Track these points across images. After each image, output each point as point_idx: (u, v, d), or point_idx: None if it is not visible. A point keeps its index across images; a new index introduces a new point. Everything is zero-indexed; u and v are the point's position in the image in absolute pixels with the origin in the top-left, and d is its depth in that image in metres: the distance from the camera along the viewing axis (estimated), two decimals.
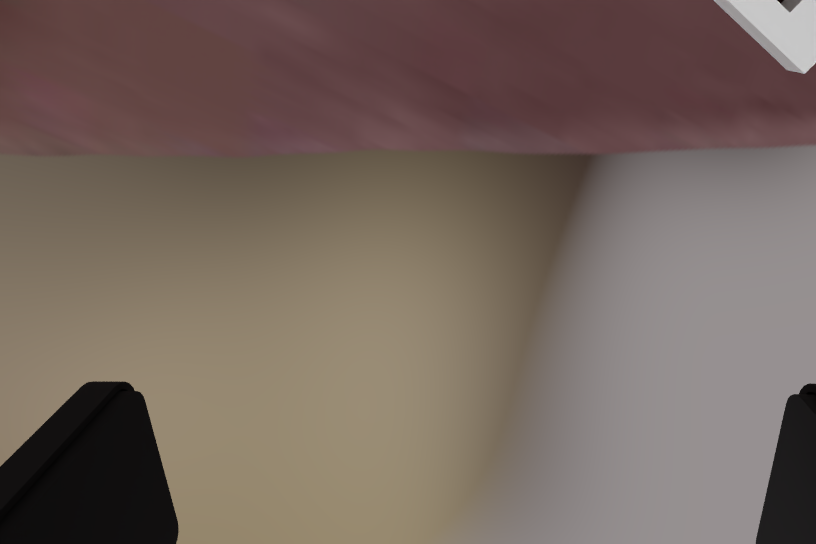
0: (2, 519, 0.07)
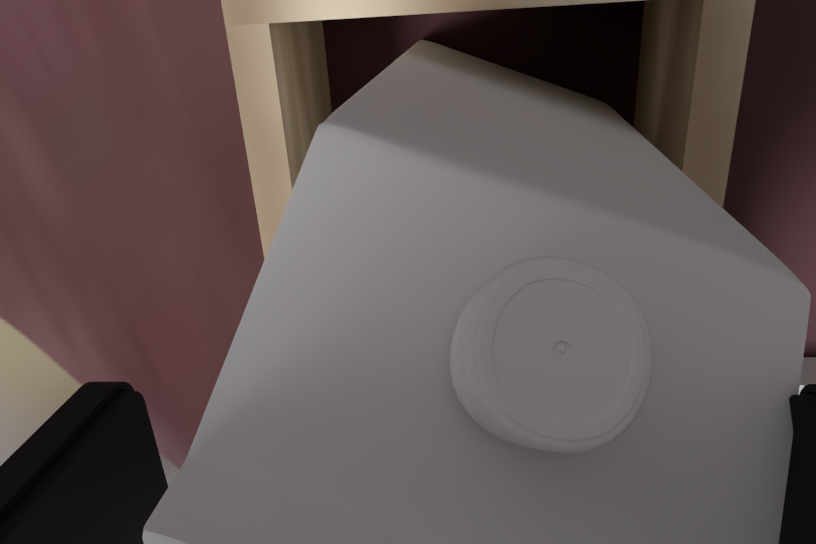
0: (2, 519, 0.07)
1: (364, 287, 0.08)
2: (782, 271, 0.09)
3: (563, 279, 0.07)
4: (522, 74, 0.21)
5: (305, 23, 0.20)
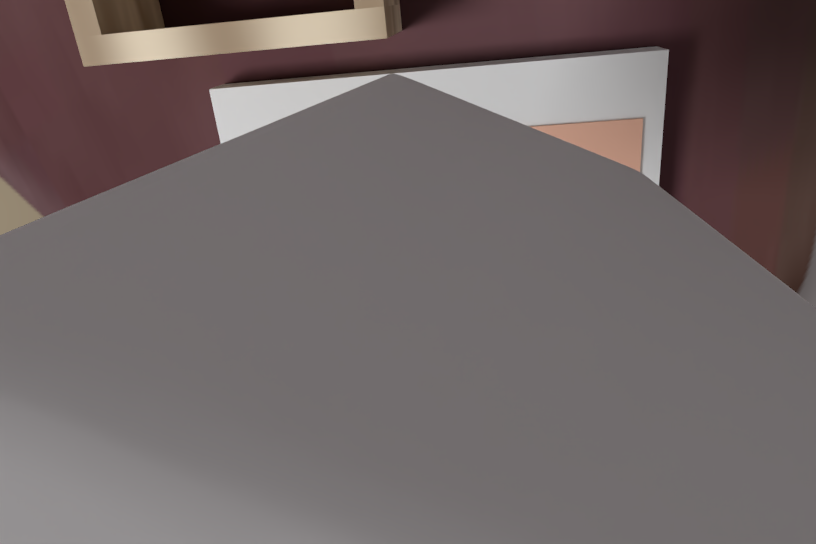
0: None
1: None
2: None
3: None
4: (530, 128, 0.15)
5: None
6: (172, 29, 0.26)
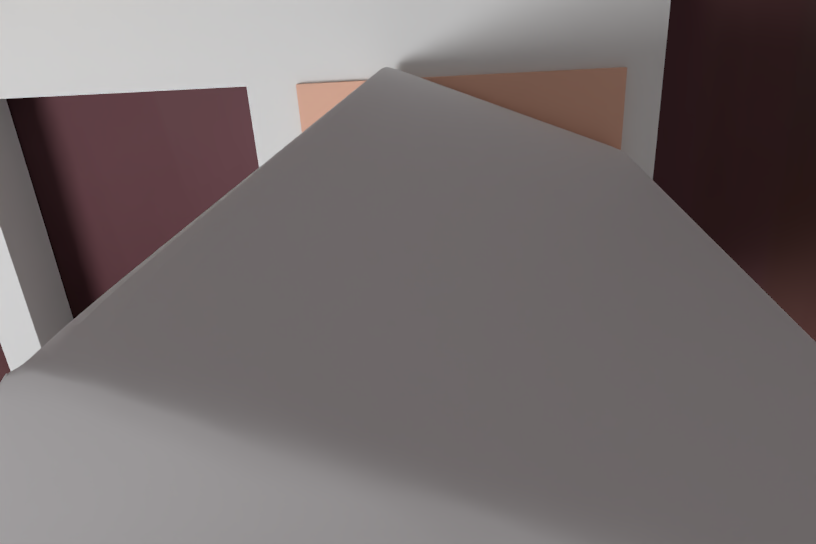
0: None
1: None
2: None
3: None
4: (516, 114, 0.16)
5: None
6: None
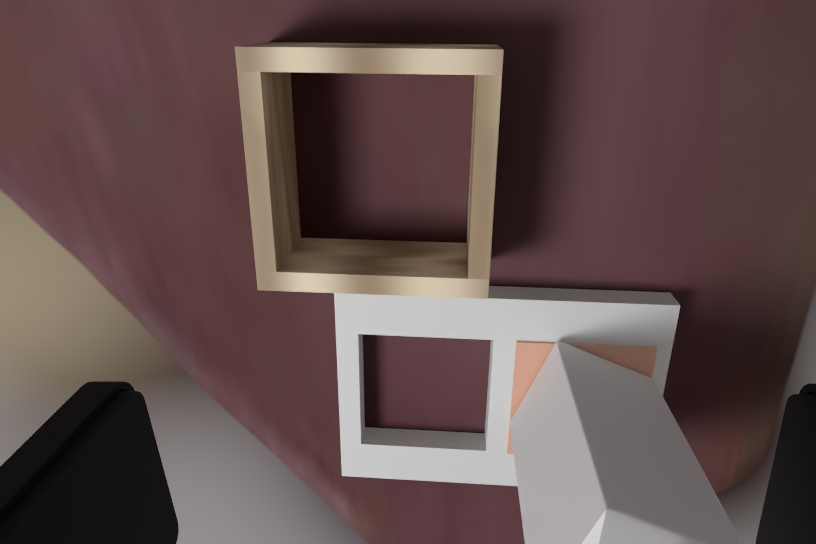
0: (2, 519, 0.07)
1: None
2: None
3: None
4: (610, 364, 0.40)
5: None
6: (331, 274, 0.35)
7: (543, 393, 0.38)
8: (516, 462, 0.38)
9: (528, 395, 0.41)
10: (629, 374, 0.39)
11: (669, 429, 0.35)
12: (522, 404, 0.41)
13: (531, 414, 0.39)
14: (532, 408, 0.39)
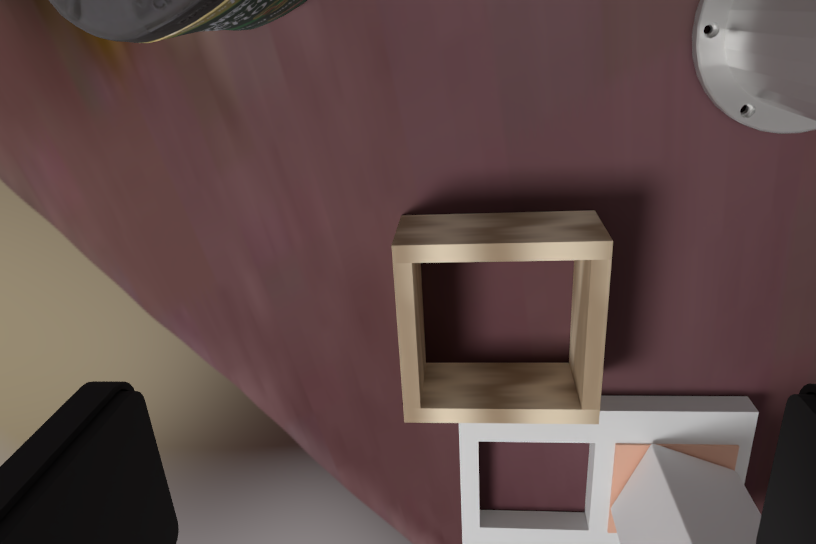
0: (2, 519, 0.07)
1: None
2: None
3: None
4: (699, 461, 0.46)
5: None
6: (466, 409, 0.43)
7: (643, 491, 0.45)
8: None
9: (628, 488, 0.48)
10: (716, 470, 0.46)
11: (758, 527, 0.42)
12: (622, 495, 0.48)
13: (633, 508, 0.46)
14: (633, 503, 0.46)
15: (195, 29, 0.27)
